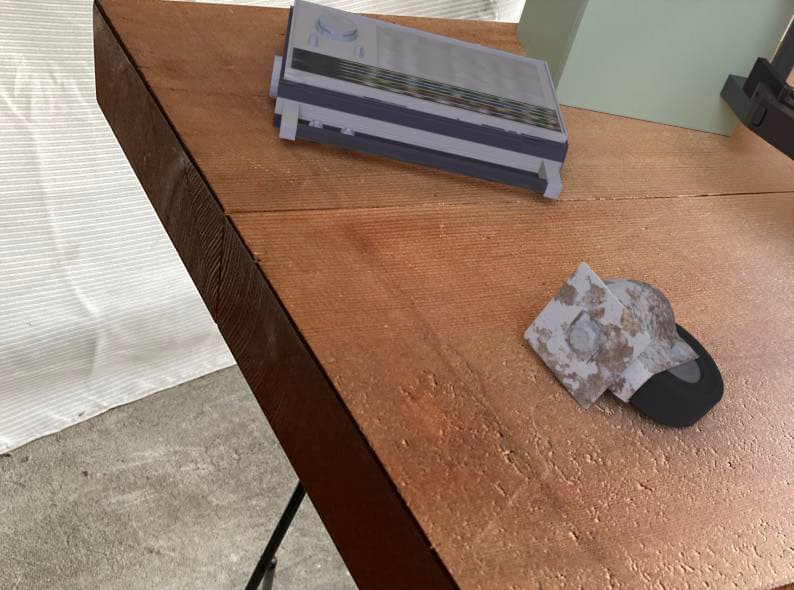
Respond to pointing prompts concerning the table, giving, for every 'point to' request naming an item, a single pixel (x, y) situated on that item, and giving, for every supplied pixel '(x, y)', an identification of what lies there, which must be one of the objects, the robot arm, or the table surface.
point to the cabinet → (548, 30)
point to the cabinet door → (674, 59)
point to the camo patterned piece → (625, 348)
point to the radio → (418, 98)
